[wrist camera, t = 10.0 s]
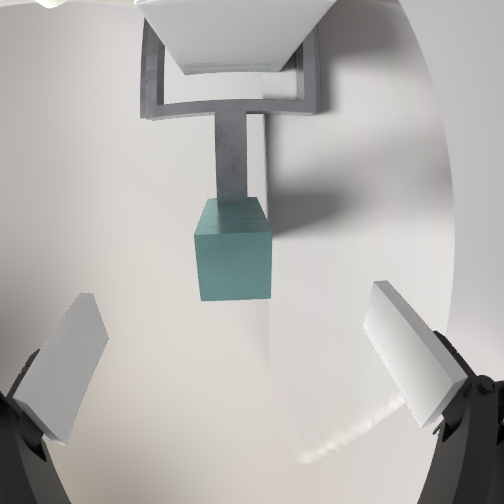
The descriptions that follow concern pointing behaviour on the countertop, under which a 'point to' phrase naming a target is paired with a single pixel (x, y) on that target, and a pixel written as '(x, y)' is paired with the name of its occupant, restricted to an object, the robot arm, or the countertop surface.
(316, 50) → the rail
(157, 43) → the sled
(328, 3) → the supplement box
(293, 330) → the countertop surface
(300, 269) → the countertop surface
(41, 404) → the robot arm
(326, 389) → the countertop surface
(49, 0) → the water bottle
